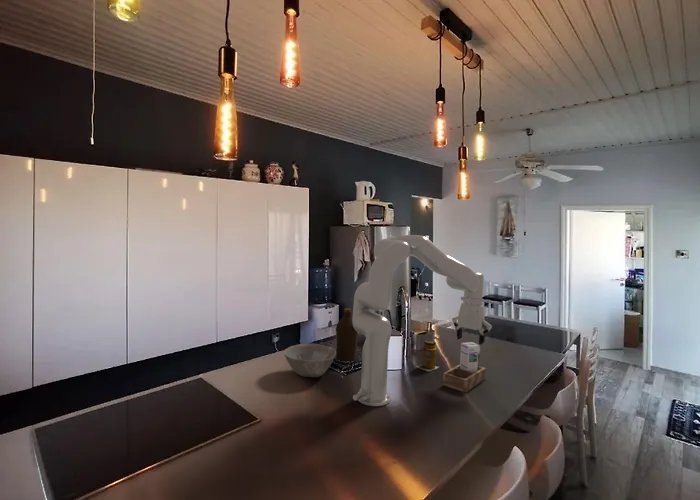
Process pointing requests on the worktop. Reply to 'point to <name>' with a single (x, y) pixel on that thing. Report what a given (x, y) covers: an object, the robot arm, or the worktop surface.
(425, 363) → the condiment
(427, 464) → the worktop surface
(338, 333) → the olive oil
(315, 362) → the ceramic bowl
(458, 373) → the box
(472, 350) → the syrup box
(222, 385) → the worktop surface
